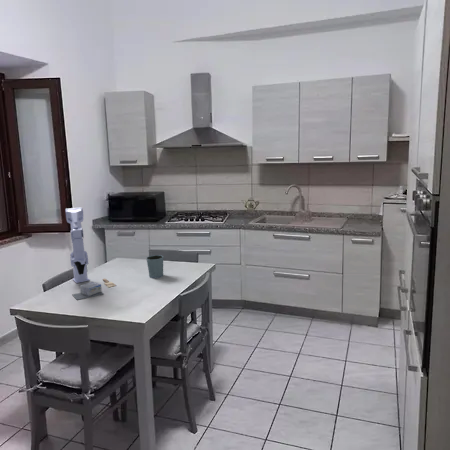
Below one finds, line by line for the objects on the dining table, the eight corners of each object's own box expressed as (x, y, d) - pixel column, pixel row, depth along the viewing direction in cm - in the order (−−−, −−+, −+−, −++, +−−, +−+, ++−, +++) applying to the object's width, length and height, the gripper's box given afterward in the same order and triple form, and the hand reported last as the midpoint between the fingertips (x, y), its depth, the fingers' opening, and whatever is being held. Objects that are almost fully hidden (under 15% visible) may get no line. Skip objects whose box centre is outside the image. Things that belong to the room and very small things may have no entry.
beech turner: (100, 281, 240) (100, 279, 240) (107, 279, 243) (107, 277, 243) (108, 287, 228) (108, 286, 228) (116, 286, 231) (116, 284, 230)
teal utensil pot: (166, 273, 251) (165, 255, 249) (162, 278, 241) (160, 259, 239) (150, 273, 252) (149, 255, 250) (145, 278, 242) (144, 259, 240)
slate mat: (72, 295, 218) (72, 294, 218) (98, 289, 225) (98, 288, 225) (77, 300, 210) (77, 299, 210) (103, 294, 217) (103, 293, 217)
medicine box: (80, 293, 219) (89, 296, 214) (79, 285, 218) (88, 288, 213) (92, 289, 225) (102, 291, 220) (91, 281, 224) (101, 284, 219)
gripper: (68, 249, 226) (70, 272, 228) (74, 254, 214) (77, 278, 216) (80, 247, 230) (83, 270, 232) (88, 251, 218) (90, 276, 220)
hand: (81, 274), depth 225 cm, fingers closed
